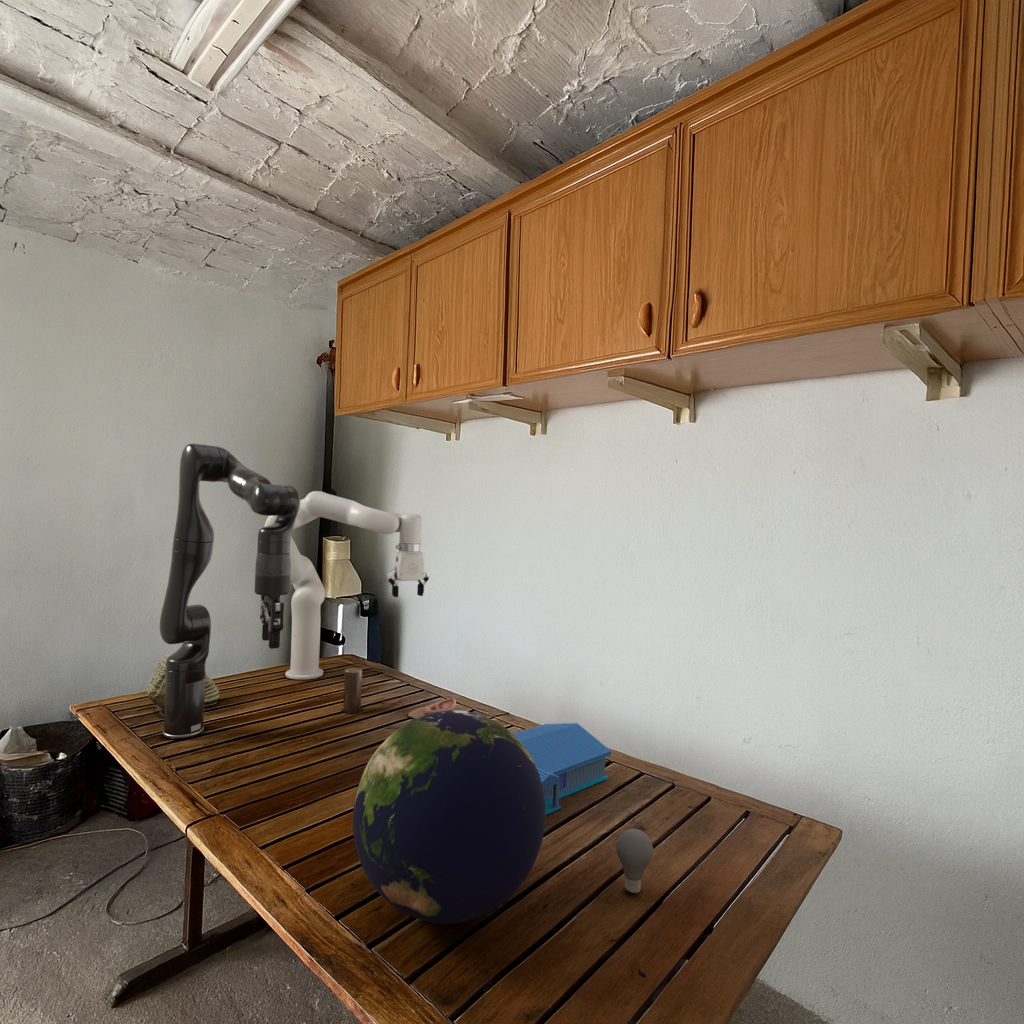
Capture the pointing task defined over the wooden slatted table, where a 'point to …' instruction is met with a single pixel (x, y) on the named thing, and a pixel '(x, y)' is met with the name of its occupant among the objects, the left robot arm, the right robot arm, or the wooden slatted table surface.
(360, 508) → the right robot arm
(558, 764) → the model building
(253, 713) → the wooden slatted table surface
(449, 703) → the anatomical model
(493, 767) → the globe
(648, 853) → the light bulb
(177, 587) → the left robot arm
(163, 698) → the fossil
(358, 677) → the can
